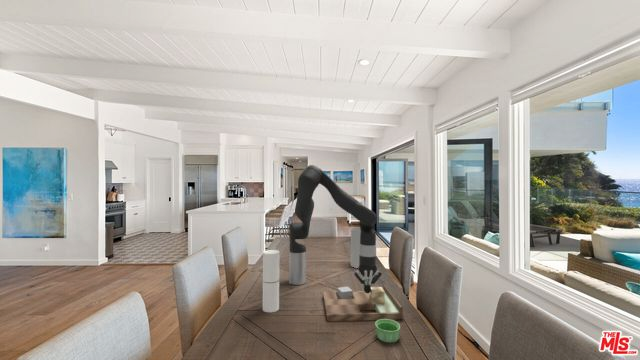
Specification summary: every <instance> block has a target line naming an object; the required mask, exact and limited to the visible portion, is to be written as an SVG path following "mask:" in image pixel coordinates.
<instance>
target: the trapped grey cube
mask: <svg viewBox="0 0 640 360" xmlns="http://www.w3.org/2000/svg"><path fill="white" fill-rule="evenodd" d="M336 291H337V299H353V291H354V290H352V289H351V288H350V287H349V286H341V287H337V290H336Z"/></svg>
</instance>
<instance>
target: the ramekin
mask: <svg viewBox="0 0 640 360" xmlns="http://www.w3.org/2000/svg"><path fill="white" fill-rule="evenodd" d="M374 327H375V335H376V337H377V339H378V340H380V341H381V342H383V343H395V342H397V341H398V340H399V338H400V330H401V325H400V323H398V322H397V321H396V320H390V319H379V320H375V322H374Z"/></svg>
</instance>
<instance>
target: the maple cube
mask: <svg viewBox="0 0 640 360" xmlns="http://www.w3.org/2000/svg"><path fill="white" fill-rule="evenodd" d="M369 299H370V301H371V303H372V304H385V291H384V288H383V287H382V286H371V291H370V292H369Z"/></svg>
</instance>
